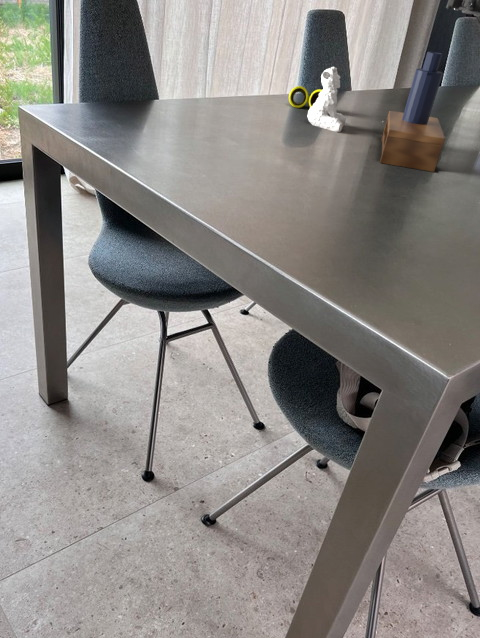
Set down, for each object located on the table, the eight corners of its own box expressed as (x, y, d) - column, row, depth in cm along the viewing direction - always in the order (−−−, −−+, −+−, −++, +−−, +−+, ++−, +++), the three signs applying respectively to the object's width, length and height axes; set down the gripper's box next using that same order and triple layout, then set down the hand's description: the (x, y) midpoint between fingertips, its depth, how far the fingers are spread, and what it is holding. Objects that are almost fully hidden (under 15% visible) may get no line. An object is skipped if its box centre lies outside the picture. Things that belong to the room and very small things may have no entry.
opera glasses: (326, 113, 145) (331, 92, 143) (324, 112, 141) (329, 90, 139) (290, 107, 148) (294, 86, 146) (286, 106, 143) (291, 84, 141)
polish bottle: (426, 121, 114) (447, 53, 107) (427, 125, 110) (449, 56, 103) (401, 117, 115) (421, 49, 108) (402, 121, 111) (422, 52, 104)
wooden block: (428, 147, 122) (437, 118, 118) (433, 172, 106) (445, 138, 102) (381, 140, 123) (389, 110, 120) (379, 162, 107) (389, 129, 104)
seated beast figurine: (340, 133, 125) (354, 72, 118) (302, 126, 126) (313, 66, 119) (344, 125, 132) (358, 67, 125) (308, 119, 134) (319, 62, 127)
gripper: (528, 32, 117) (502, 32, 106) (462, 23, 124) (431, 22, 114) (545, -11, 112) (519, -16, 102) (475, -19, 120) (444, -24, 109)
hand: (473, 4), depth 108 cm, fingers open, 8 cm apart
